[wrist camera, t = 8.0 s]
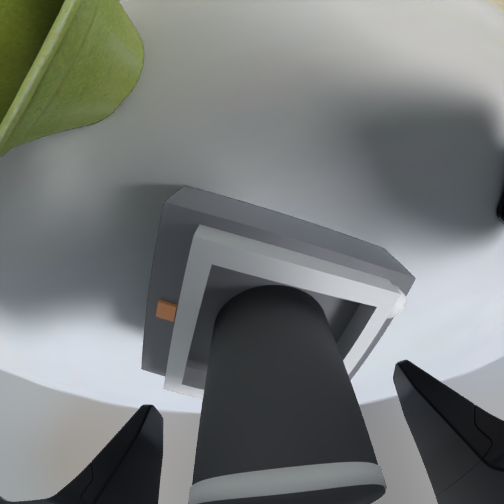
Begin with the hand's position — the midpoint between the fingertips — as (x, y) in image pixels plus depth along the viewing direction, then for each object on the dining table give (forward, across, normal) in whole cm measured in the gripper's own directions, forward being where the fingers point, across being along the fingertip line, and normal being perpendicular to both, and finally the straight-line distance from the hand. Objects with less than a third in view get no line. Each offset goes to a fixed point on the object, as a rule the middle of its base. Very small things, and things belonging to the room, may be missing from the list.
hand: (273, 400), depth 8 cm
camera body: (+7, 0, 0) cm, 7 cm away
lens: (+4, 0, 0) cm, 4 cm away
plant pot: (+7, +6, -14) cm, 17 cm away
